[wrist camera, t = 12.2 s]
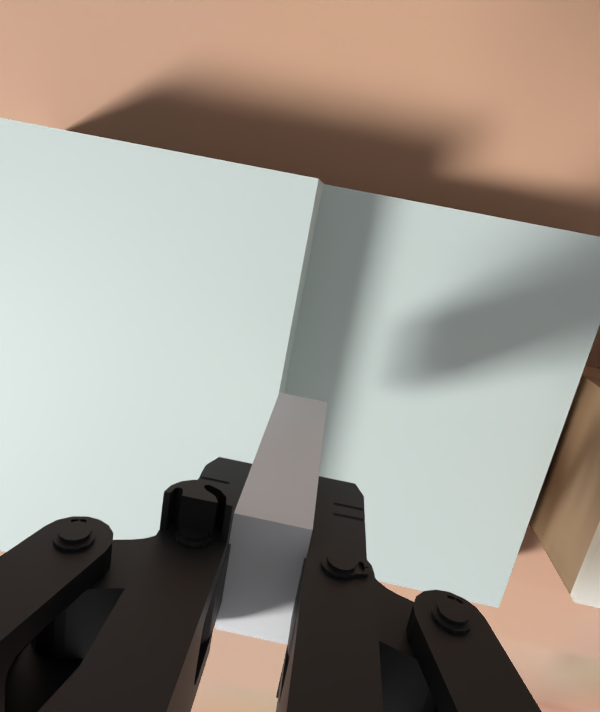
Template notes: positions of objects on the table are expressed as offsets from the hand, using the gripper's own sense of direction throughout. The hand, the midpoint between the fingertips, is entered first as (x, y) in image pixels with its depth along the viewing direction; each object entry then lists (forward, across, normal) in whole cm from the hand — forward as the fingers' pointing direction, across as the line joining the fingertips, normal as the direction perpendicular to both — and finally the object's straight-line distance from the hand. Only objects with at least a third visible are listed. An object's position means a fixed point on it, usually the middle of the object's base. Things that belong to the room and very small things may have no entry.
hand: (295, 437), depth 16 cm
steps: (+8, -1, 0) cm, 8 cm away
